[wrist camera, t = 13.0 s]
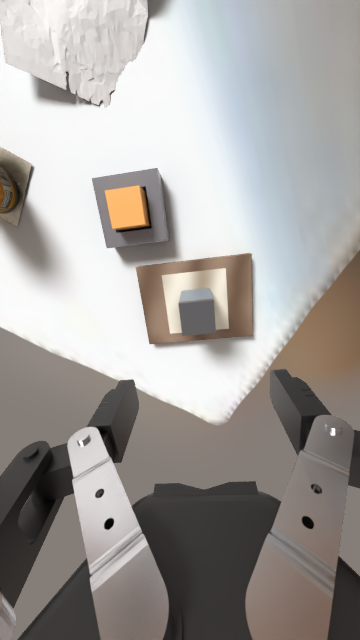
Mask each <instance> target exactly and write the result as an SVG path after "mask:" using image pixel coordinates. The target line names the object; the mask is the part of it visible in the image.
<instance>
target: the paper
mask: <svg viewBox="0 0 360 640" xmlns="http://www.w3.org/2000/svg"><path fill="white" fill-rule="evenodd" d="M147 18H148V4H147V0H0V24H1V36H2V41H3V47H4V54H5V60H6V63H7V64H9V65H11V66H14V67H16V68H18V69H20V70H23V71H25V72H27V73H30V74H32V75H34V76H36V77H38V78H41V79H43V80H45V81H47V82H49V83H52V84H54V85H56V86H58V87H60V88H63V89H65V90H66V85H67V81H66V76H67V75H66V72H67V71H68V73H69V87H70V90H71V93H73V94H75V93H76V91H77V94H78V96H79V97H81V98H83V99H85V100H87V101H89V99H91V102H92V103H94V104H97V105H99V104H100V101H101V100H102V101H103V102H104V107H107V106H108V105H110V94H109V93H111V91H113V90H115V87H116V82H117V80H118V77H119V76H120V74H121V73H122V71H123V70H124V68H125V65H126V64H127V63H128V62H129V61H133V60H134V59H136V57H137V55H138V53H139V51H140V50H141V48H142V45H143V44H144V34H145V27H146V22H147Z"/></svg>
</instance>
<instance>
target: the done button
mask: <svg viewBox="0 0 360 640" xmlns="http://www.w3.org/2000/svg"><path fill="white" fill-rule="evenodd" d="M105 195H106V200H107V205H108V210H109V215H110V220H111V225H112V229H117V230H127V229H135V228H142V227H150V219H149V212H148V206H147V199H146V192H145V191H144V190H143V189H142V188H141V187H140V186H139V185H138V186H132V187H125V188H119V189H112V190H105Z"/></svg>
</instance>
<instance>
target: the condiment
mask: <svg viewBox="0 0 360 640" xmlns="http://www.w3.org/2000/svg"><path fill="white" fill-rule="evenodd" d="M31 165H32V164H30V163H29V162H27V161H25V160H23V159H21V158H20V157H18V156H16V155H14V154H12V153H10V152H9V151H7V150H5V149H3V148H2V147H0V218H2V219H4V220H6V221H8V222H10V223H11V224H13V225H15V226H17V227H18V222H19V219H20V215H21V210H22V207H23V202H24V197H25V190H26V188H27V183H28V180H29V173H30V169H31ZM18 183H19V184H18Z"/></svg>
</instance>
